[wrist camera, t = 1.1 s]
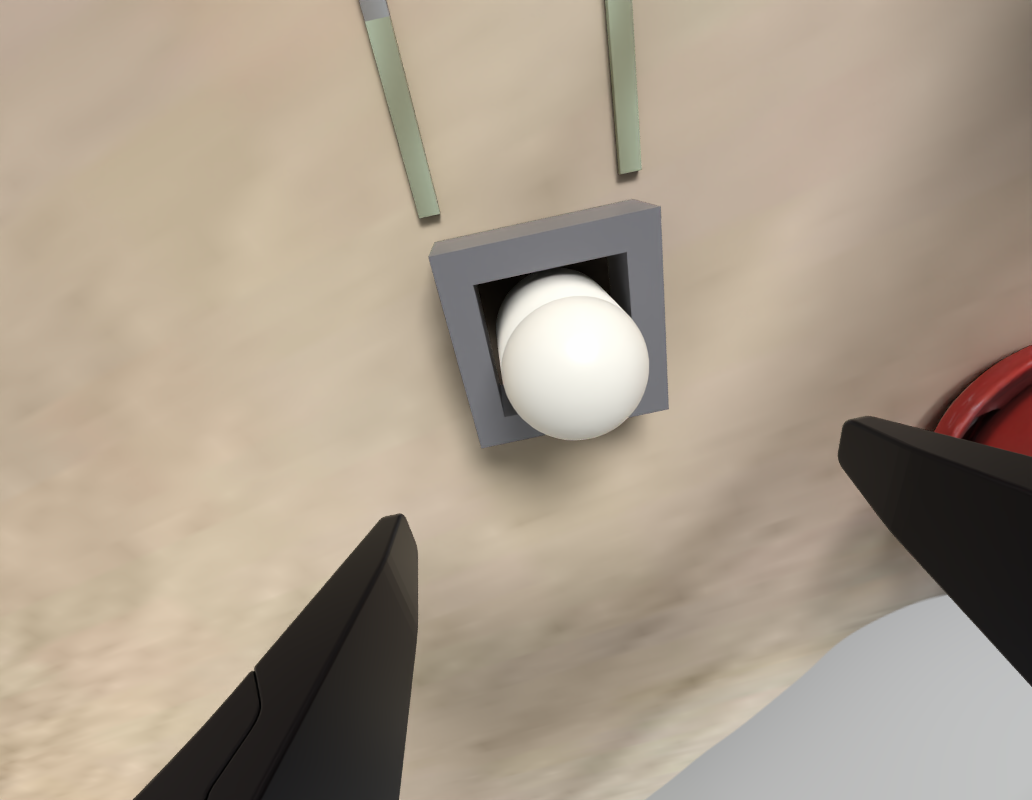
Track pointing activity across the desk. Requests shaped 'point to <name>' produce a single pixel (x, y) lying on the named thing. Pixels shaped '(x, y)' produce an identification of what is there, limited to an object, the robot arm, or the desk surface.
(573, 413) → the dome
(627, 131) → the track
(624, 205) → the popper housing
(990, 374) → the plant pot
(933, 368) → the desk surface
